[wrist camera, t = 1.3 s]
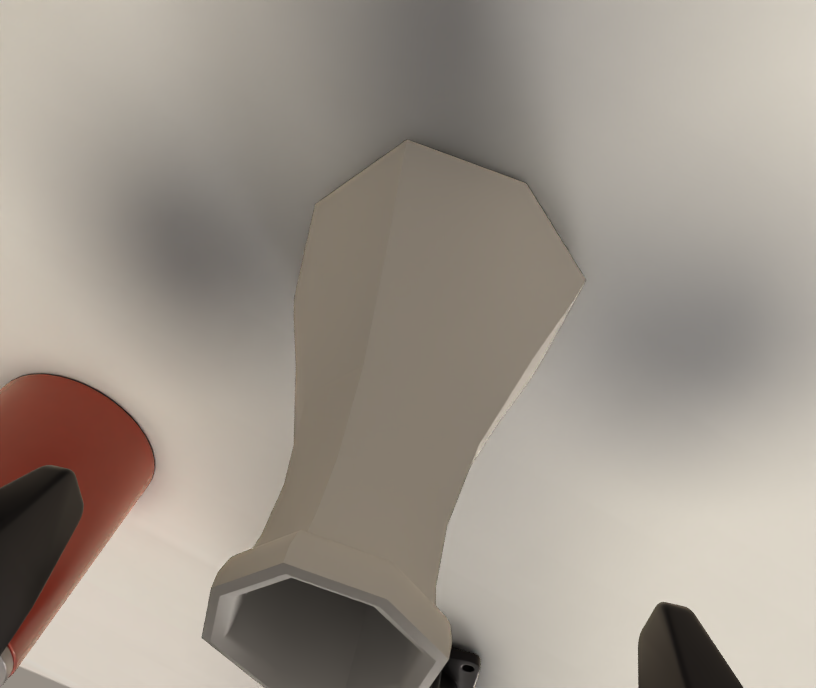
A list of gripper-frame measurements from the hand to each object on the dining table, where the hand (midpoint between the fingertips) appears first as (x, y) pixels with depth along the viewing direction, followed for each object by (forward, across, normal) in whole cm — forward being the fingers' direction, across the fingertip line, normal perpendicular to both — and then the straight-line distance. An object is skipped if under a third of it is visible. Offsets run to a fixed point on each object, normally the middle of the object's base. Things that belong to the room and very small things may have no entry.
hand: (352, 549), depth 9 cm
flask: (+8, 0, 0) cm, 9 cm away
